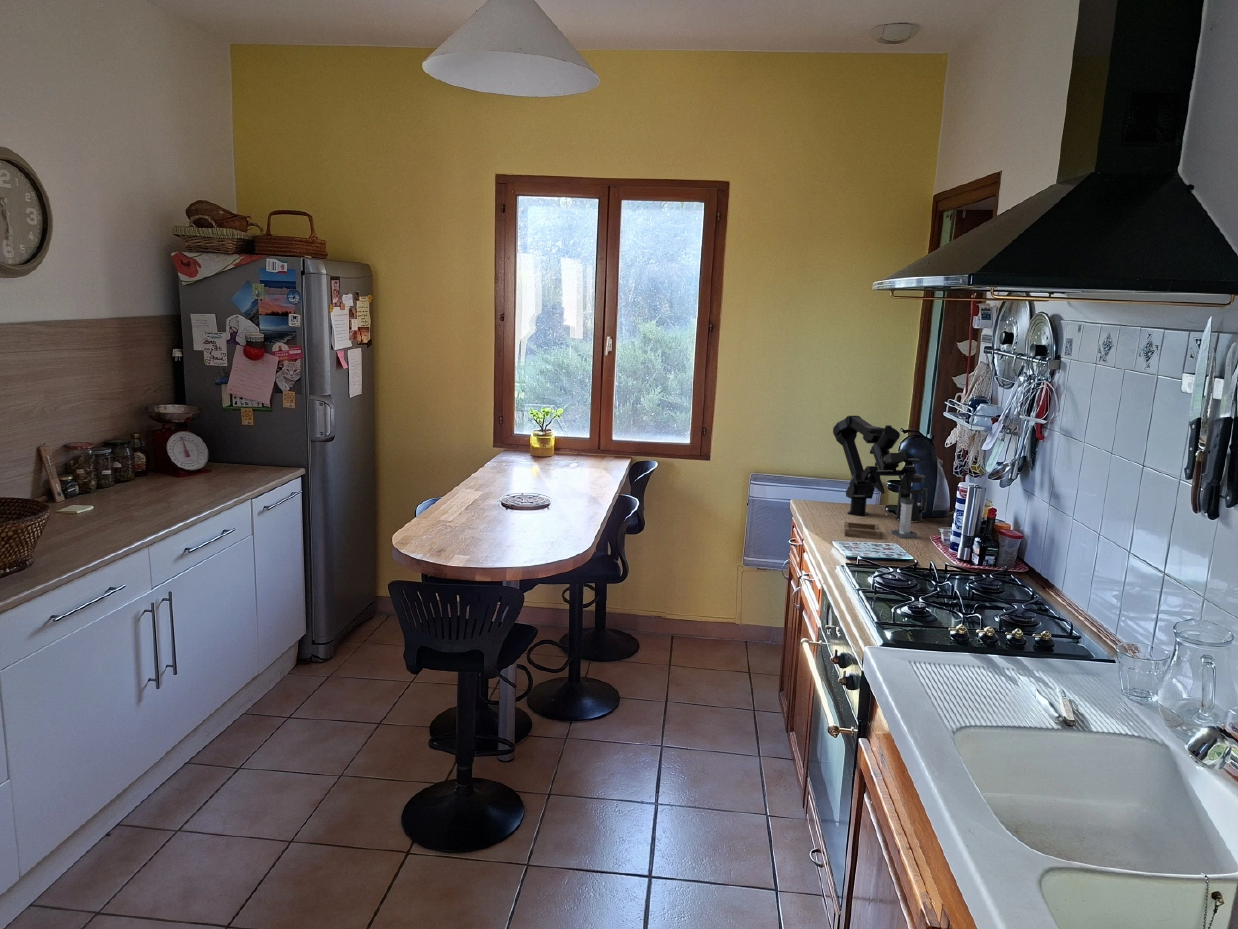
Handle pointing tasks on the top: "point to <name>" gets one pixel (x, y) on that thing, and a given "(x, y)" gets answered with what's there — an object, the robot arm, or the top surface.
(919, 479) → the french press
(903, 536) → the post on square base
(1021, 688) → the top surface
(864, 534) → the dock
